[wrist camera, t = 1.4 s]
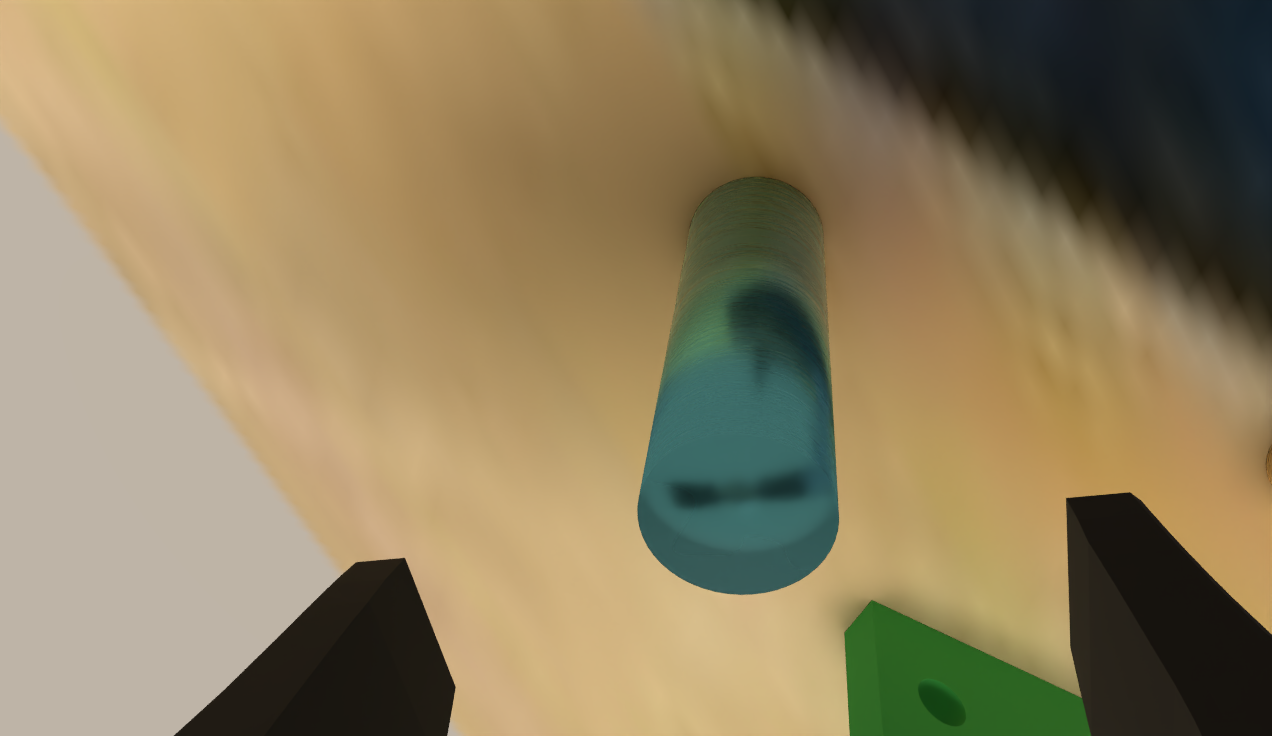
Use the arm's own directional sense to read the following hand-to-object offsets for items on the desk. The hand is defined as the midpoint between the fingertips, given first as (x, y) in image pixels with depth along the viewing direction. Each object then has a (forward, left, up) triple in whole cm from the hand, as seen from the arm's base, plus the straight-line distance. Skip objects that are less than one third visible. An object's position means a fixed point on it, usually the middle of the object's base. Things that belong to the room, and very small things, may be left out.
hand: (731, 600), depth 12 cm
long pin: (0, 0, -9) cm, 9 cm away
